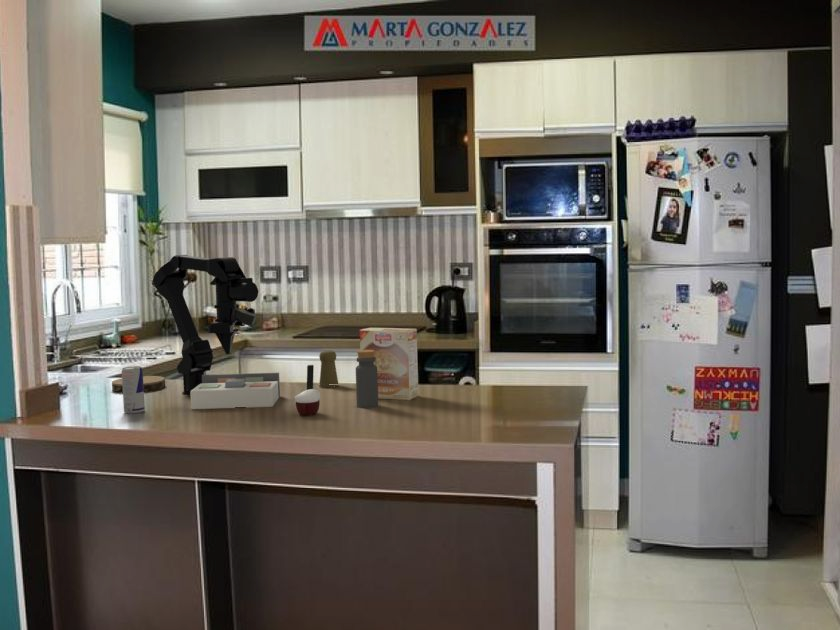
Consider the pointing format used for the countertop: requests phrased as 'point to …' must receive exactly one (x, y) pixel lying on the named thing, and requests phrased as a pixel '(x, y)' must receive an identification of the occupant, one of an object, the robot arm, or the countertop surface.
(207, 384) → the sage key
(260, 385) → the terracotta key
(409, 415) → the countertop surface
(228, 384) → the slate key
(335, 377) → the cork
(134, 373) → the energy drink
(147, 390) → the wood slice
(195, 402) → the keypad housing
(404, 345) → the coffeecake box
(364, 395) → the bottle
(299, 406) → the rounded body with stick
